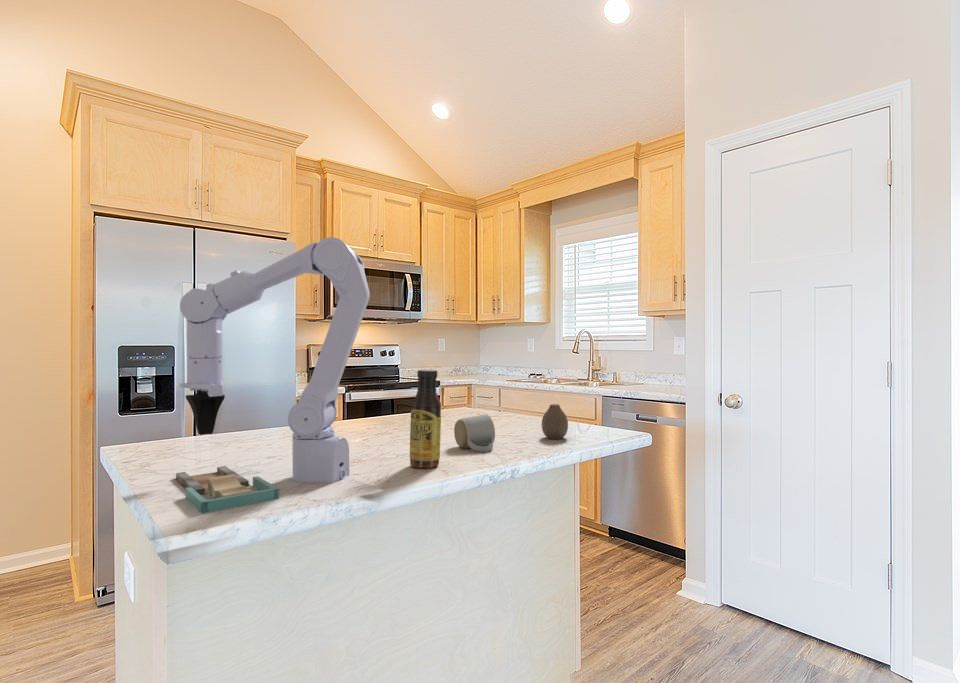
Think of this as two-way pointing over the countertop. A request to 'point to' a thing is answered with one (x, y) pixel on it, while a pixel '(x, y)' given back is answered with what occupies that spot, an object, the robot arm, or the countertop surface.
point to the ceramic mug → (475, 433)
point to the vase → (554, 422)
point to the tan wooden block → (232, 491)
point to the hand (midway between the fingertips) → (205, 433)
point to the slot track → (206, 479)
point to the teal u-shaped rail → (234, 497)
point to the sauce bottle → (425, 423)
